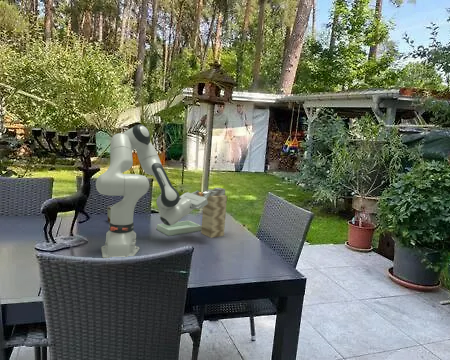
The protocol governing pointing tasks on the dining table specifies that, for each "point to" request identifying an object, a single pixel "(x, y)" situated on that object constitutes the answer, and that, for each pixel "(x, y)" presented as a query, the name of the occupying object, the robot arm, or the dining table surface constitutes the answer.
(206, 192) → the stop pin
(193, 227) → the pin tray
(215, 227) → the pin post
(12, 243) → the dining table surface
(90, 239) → the dining table surface
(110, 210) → the food container
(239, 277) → the dining table surface
